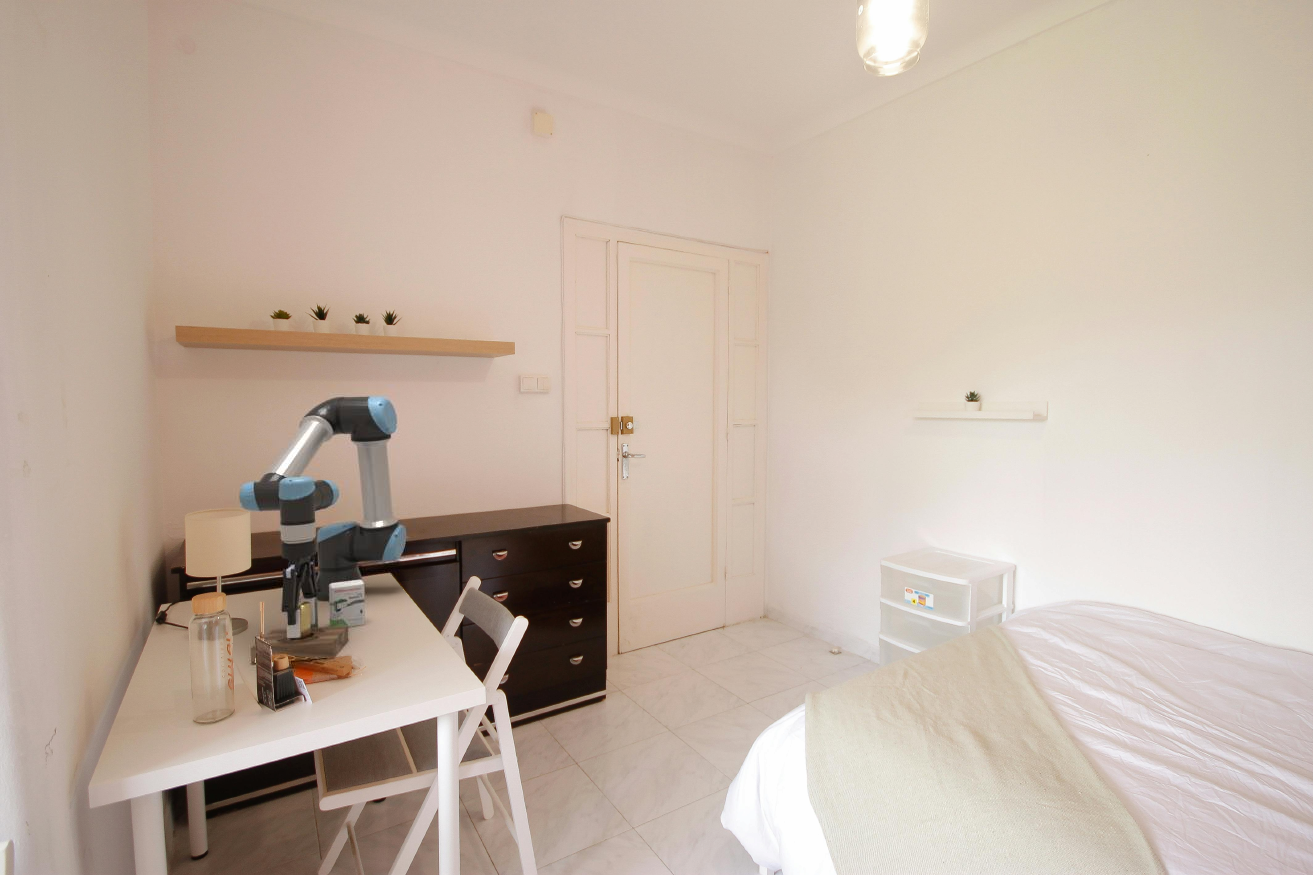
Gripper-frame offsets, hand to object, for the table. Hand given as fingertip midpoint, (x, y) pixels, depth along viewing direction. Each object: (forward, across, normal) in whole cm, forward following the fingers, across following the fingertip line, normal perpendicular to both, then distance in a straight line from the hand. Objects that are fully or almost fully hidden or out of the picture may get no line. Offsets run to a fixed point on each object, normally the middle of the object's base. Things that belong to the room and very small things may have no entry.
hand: (301, 630), depth 154 cm
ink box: (+6, -19, +5) cm, 20 cm away
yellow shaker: (+5, 0, 0) cm, 5 cm away
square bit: (+5, -11, -3) cm, 13 cm away
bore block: (+5, 0, 0) cm, 5 cm away
